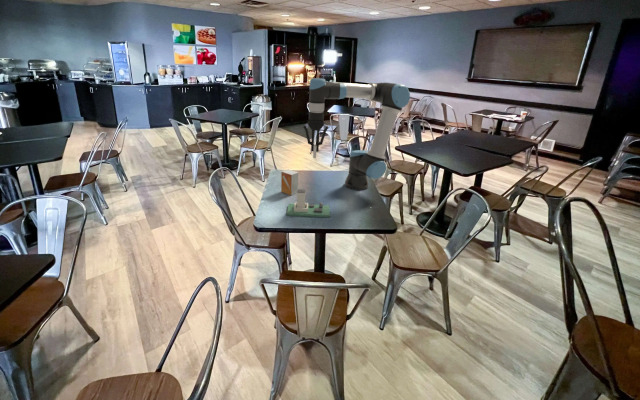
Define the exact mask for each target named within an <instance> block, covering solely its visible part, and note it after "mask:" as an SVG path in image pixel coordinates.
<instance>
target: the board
mask: <svg viewBox="0 0 640 400" xmlns="http://www.w3.org/2000/svg"><path fill="white" fill-rule="evenodd" d="M330 213H331V211H330V205H328V204H324V203H323V202H319V203H318V204H313V203H311V204H309V202H305V208H297V201H296V202H294V203H288V206H287V212H286V216H289V217H291V216H292V217H314V218H317V217H318V218H320V217H321V218H331V214H330Z"/></svg>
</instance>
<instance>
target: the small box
mask: <svg viewBox="0 0 640 400" xmlns="http://www.w3.org/2000/svg"><path fill="white" fill-rule="evenodd" d="M280 174H281V181H280V182H281V183H280V184H281V185H280V187H281V190H280V191H281V193H284V194H287V195H288V196H294V195H297V191H298V189H299V172H298V171H295V170H291V169H289V168H288V169H285V170H283V171H282V170H281V173H280Z"/></svg>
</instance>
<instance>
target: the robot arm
mask: <svg viewBox="0 0 640 400" xmlns="http://www.w3.org/2000/svg"><path fill="white" fill-rule="evenodd" d="M308 88H309V98H308V121H307V123H306V124H303V127H302V128H303V129H304V131H305V135H306V141H307V144H308V145H310V146H311V148H310V149H311V152H313V153H312V154H313V155H312V158H313V159H317V153H318V152H319V147H320V146H321V145H323V143H324V139H325V136H326V134H327V133H326V132H327V130H328V129H329V126H328V125H326V124H325V121H324V120H325V119H324V117H325V113H324V111H325V102H326V101H325V100H341V99H342V100H343V99H345V98H353V99H365V100H367V101H372V102H376V103H380V104H381V108H382V110H381V113H380V116H379V120H378V124H377V127H376V131H375V133H374V137H373V139H372V143H371V146H370V149H369V151H368V150H366V149H363V150H362V149H361V150H359V149H357V150H356V149H355V150H352V151H351V152H350V153H349V154H350V155H349V161H348V162H349V164H348V174H347V177H346V179H345V181H344V186H345V187H346V188H348V189H351V190H356V191H358V190H359V191H361V190H366V189H368V188H369V179H371V180H372V179H373V180H378V179H380V178H381V177H383V176H384V175H385V174H386V172H387V164H386V162H385V161H386V155H385V153H386V151H387V147H388V144H389V140H390V137H391V135H392V134H391V133H392V132H393V129H394V125H395V121H396V120H397V115H398V114H400V113H401V112H402V109H403V108H405V107H406V106H407V105H408V104H409V102H410V98H411V93H410V91H409V90H410V89H409V88H408V87H407V86H406V85H404V84H401V83H394V82H393V83H392V82H369V83H368V84H363V83H351V82H337V81H327V80H326V79H325V78H320V77H319V78H317V77H316V78H315V77H313V78H311V79H309V87H308ZM322 128H323V130H322ZM309 129H310V130H311V138H310V133H309ZM320 130H322V135H321V137H320ZM315 131H316V144H315ZM368 178H369V179H368Z"/></svg>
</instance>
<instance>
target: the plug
mask: <svg viewBox="0 0 640 400" xmlns="http://www.w3.org/2000/svg"><path fill="white" fill-rule="evenodd" d="M296 196H297V197H296V203H297V208H305V203H306V189H304V188H303V189H301V188H298V191H297V193H296Z"/></svg>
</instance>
